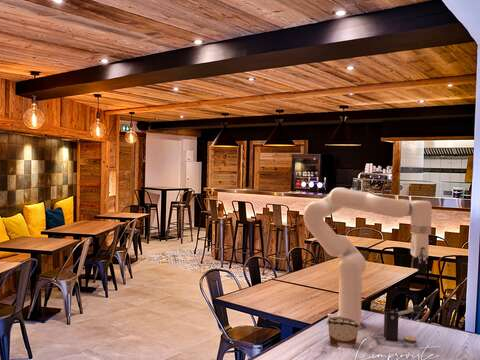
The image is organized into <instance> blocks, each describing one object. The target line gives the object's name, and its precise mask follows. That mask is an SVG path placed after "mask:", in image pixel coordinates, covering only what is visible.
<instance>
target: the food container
mask: <svg viewBox="0 0 480 360" xmlns="http://www.w3.org/2000/svg"><path fill="white" fill-rule="evenodd" d="M326 325H327V326H328V337H329V338H328V339H329V346H335V347H339V344H338V343H340V344H346V345H347V344H349V345H357V341H358V335H359V333H358V332H359V329H361V326H360V325H361V324H360V325H359V323H358V322H357V321H355V320H353V319H349V318H344V317H332V318H328V319H327V321H326Z"/></svg>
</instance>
